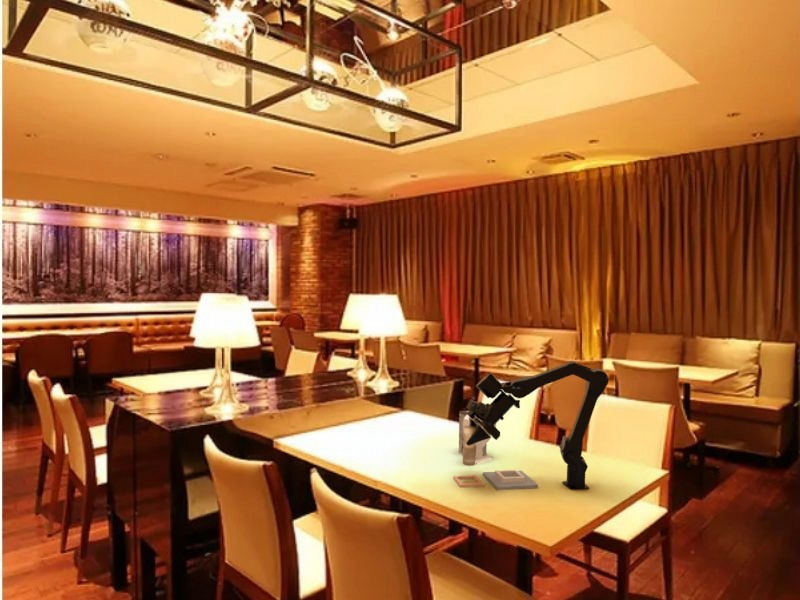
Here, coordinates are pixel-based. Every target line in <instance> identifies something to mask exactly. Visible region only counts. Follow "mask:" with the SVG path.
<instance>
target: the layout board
mask: <svg viewBox="0 0 800 600" xmlns="http://www.w3.org/2000/svg"><path fill="white" fill-rule="evenodd" d="M482 476H483V477H484V478H485V479H486V480H487V481H488V483H490V484H491V486H493V488H494V489H495V490H496V489H497V490H496V491H507V490H525V489H539V484H538V483H537V482H536V481H534V479H532V478H531V477H530V476H529V475H527V473H525V472H524V471H523V470H517V469H501V470H500V469H499V470H494V471H483V472H482Z"/></svg>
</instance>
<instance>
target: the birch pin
mask: <svg viewBox="0 0 800 600" xmlns="http://www.w3.org/2000/svg"><path fill="white" fill-rule="evenodd" d="M475 430H476V428H475V427H472V426H465V427H464V429H463V455H462V465H463V466H467V467H470V466H476V465H475V458H476V455H475V443H474V444H472V445H469V446H468V445H467V444H466V443H467V441H468V440H469V438H470V437H471V436H472V434H473V433H474V432H475Z"/></svg>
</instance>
